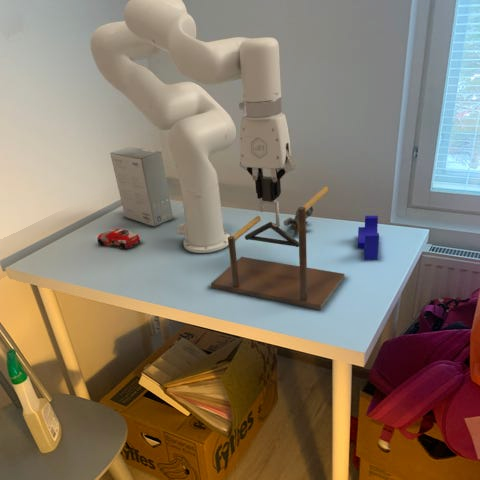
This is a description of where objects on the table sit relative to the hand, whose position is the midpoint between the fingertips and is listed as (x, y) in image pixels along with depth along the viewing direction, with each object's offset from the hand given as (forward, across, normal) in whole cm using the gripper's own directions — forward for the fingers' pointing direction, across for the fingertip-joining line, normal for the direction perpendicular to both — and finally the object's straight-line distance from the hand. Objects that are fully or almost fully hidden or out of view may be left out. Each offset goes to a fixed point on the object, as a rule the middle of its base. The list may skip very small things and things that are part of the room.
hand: (268, 196), depth 108 cm
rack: (+16, +5, -8) cm, 19 cm away
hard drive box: (+16, -50, +14) cm, 54 cm away
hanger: (+11, 0, 0) cm, 11 cm away
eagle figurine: (+17, -2, +20) cm, 26 cm away
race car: (+16, -46, -4) cm, 49 cm away
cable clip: (+17, +18, +15) cm, 29 cm away
